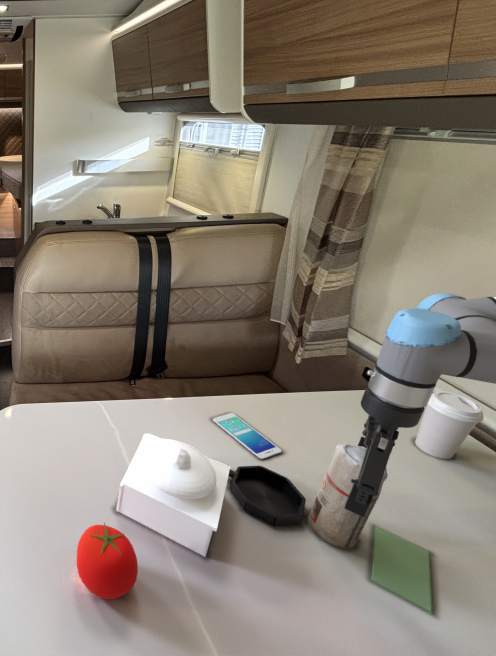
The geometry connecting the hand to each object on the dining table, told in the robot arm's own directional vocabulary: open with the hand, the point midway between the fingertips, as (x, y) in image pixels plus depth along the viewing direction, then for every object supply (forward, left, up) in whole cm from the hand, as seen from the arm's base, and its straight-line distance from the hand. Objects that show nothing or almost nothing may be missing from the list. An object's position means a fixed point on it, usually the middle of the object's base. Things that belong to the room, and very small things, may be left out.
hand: (357, 487), depth 80 cm
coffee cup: (-15, -44, -13) cm, 48 cm away
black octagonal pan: (+17, 0, -13) cm, 21 cm away
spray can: (+1, -1, -13) cm, 13 cm away
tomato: (+30, +39, -13) cm, 51 cm away
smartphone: (+20, -18, -13) cm, 30 cm away
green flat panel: (-10, 0, -13) cm, 16 cm away
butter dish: (+27, +15, -13) cm, 34 cm away
